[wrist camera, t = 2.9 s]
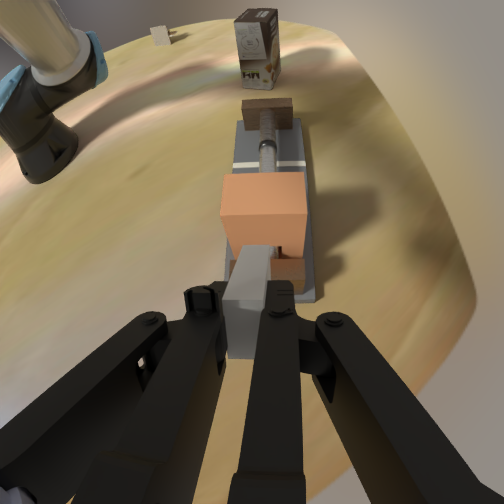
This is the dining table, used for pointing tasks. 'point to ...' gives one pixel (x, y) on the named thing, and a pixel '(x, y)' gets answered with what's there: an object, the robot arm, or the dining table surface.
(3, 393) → the dining table surface
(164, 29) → the architectural model
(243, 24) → the coffee box
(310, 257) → the base board
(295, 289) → the pipe rig
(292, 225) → the block
